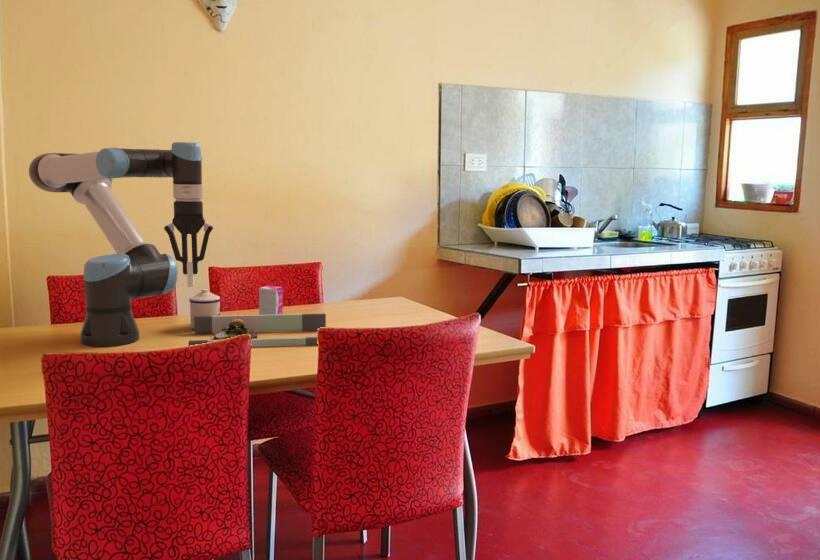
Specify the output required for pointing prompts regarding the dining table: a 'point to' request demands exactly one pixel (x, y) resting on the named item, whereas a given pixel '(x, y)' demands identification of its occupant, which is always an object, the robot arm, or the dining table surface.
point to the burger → (234, 330)
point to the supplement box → (270, 300)
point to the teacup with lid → (204, 305)
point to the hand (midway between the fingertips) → (190, 285)
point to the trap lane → (264, 327)
